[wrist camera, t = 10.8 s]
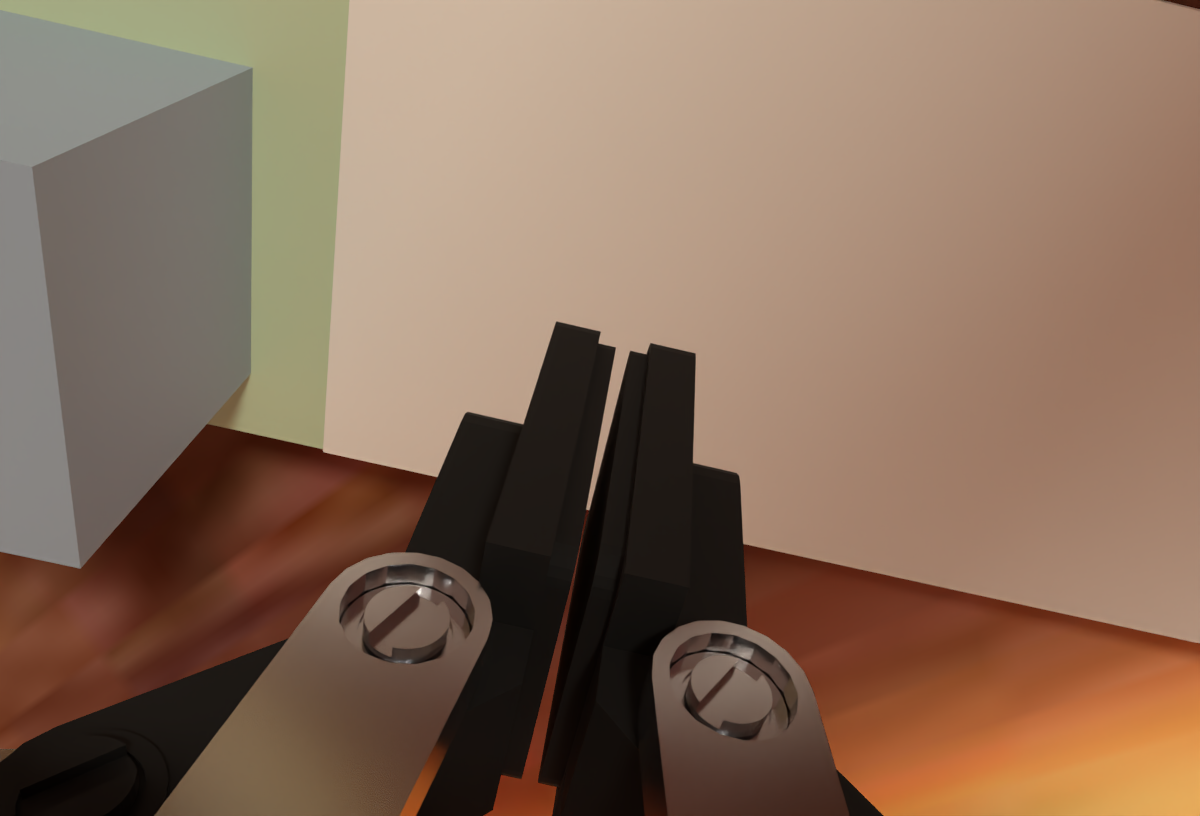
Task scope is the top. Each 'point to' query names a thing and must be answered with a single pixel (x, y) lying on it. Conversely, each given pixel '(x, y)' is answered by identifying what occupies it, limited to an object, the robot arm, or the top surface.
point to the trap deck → (753, 256)
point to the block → (113, 272)
